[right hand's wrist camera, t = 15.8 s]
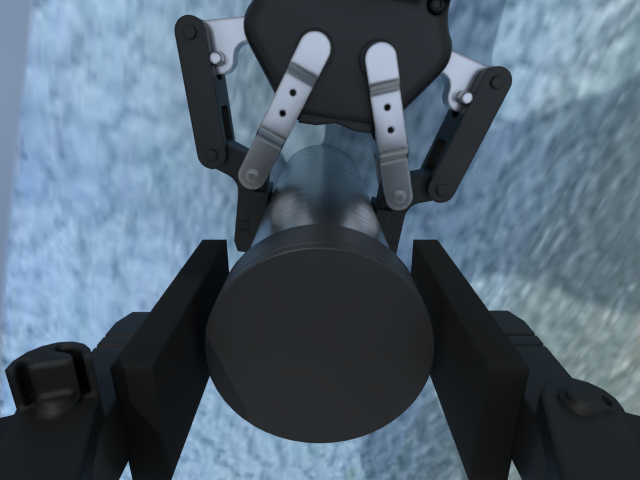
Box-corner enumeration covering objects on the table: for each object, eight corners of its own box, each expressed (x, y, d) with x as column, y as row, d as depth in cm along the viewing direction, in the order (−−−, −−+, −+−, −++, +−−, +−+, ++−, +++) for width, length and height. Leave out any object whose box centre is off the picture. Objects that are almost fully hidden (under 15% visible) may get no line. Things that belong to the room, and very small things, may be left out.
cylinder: (366, 150, 26) (434, 257, 10) (354, 228, 27) (397, 421, 12) (283, 140, 25) (227, 234, 10) (276, 220, 27) (219, 404, 12)
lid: (199, 236, 11) (179, 262, 10) (415, 211, 11) (432, 233, 9) (239, 408, 13) (228, 452, 11) (424, 390, 13) (438, 433, 11)
